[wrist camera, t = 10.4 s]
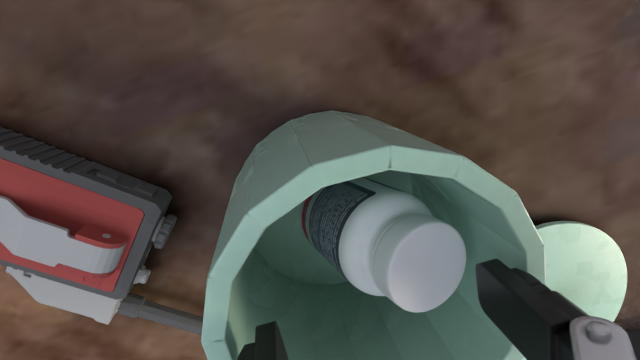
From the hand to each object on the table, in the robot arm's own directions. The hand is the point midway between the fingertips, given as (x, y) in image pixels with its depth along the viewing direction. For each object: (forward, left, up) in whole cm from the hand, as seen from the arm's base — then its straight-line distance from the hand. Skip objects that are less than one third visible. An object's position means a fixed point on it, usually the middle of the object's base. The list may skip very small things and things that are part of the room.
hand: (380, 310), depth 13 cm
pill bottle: (0, 0, -10) cm, 10 cm away
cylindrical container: (0, 0, -11) cm, 11 cm away
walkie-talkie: (-2, -14, -11) cm, 18 cm away
